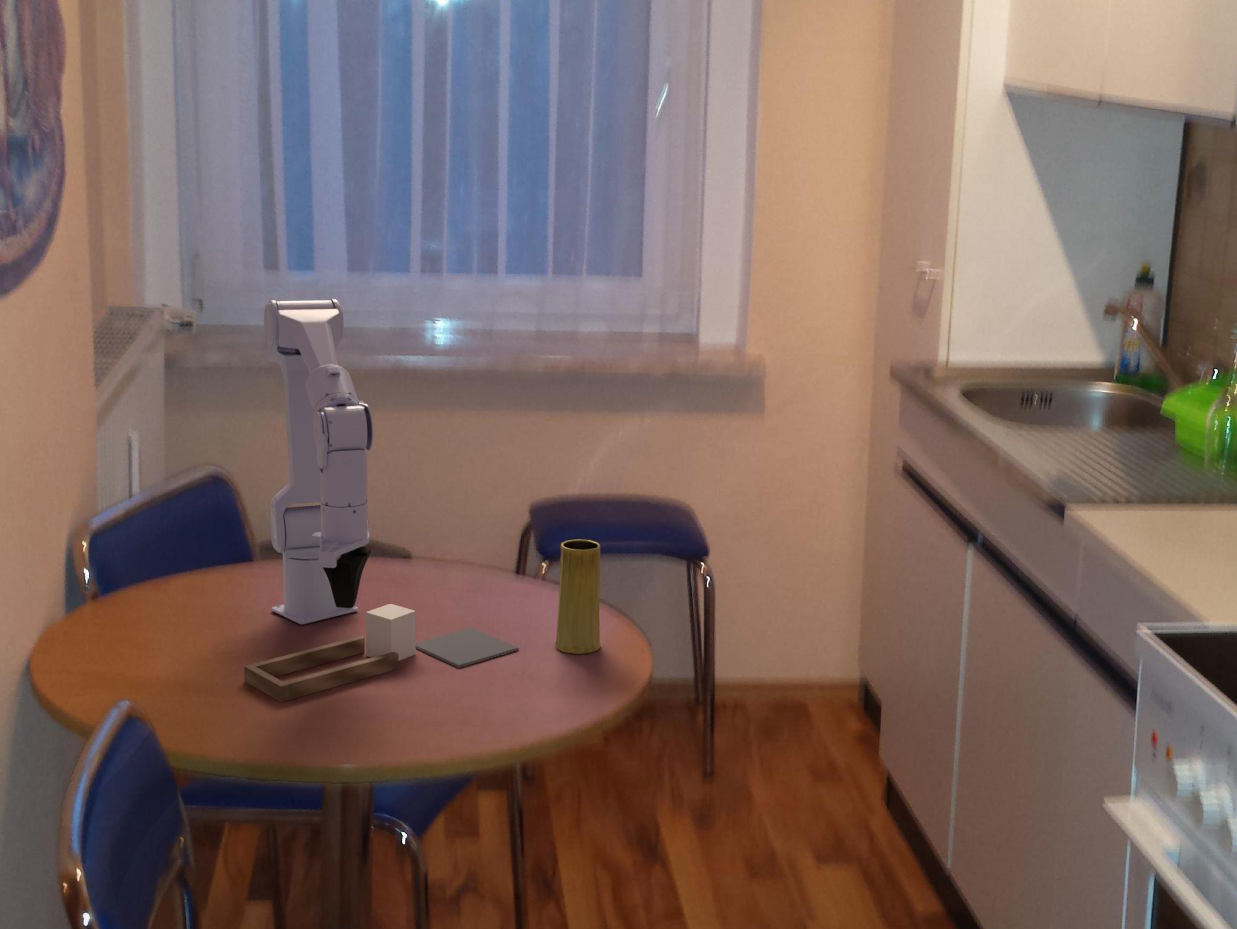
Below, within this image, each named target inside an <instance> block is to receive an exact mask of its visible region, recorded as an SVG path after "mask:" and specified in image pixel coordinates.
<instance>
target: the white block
mask: <svg viewBox="0 0 1237 929" xmlns="http://www.w3.org/2000/svg"><path fill="white" fill-rule="evenodd" d="M416 623H417V622H416V610H413V609H411V608H407V607H404V606H401V605H397V604H393V603H388V604H385V605H383V606H380V607H377V608H373V609H371V610H368V611H365V649H366V650H365V652H366V657H370V658H373V657H376V656H380V655H383V654H387V653H391V652H396V653H398V662H399V661H403V660H406V659H408V658H409V657H411V656H414V655H416V654H417V651H416V650H417V649H416V643H417V640H416V637H417V636H416V628H417V627H416V626H417V625H416Z"/></svg>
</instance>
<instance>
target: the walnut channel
mask: <svg viewBox="0 0 1237 929" xmlns="http://www.w3.org/2000/svg"><path fill="white" fill-rule="evenodd" d="M365 649H366V637H363V636H362V635H359V636H358V635H357V636H354V637H351V638H347V639H342V640H340V641H336V642H332V643H327V644H323V645H321V646H320V645H319V646H316V647H313V648H312V647H311V648H309V649H306V650H302V651H301V650H300V651H298V652H297V651H296V652H294V653H290V654H286V655H282V656H278V657H274V658H271V659H267V660H262V661H258V662H255V663H251V664H248V665H244V666H243V671H244V672H243V673H244V674H243V675H244V676H243V677H244V682H245V683H246V684H248V685H250V686H252V687H253V688H255V689H257V690H259V691H261V692H262V693H265V694H266V695H268V696H270V697H271V698H273V699H275V700H276V701H279V702H280V703H283V702H287V701H290V700H293V699H297V698H300V697H304V696H307V695H311V694H315V693H318V692H322V691H325V690H328V689H332V688H336V687H339V686H342V685H346V684H350V683H353V682H357V681H360V680H364V679H367V678H371V677H375V676H377V675H381V674H385V673H388V672H391V671H395V670H398V669H399V661H398V653H396V652H391V653H387V654H383V655H380V656H376V657H373V658H372V657H370V658H366V659H362V660H359V661H354V662H351V663H348V664H344V665H339V666H337V667H334V668H329V669H326V670H325V669H324V670H323V671H319V672H316V673H312V674H308V675H304V676H300V677H297V678H293V679H289V680H286V681H282V680H281V679H279V678H277V677H279V676H283V675H286V674H289V673H293V672H294V673H295V672H297V671H302V670H305V669H308V668H312V667H316V666H319V665H324V664H327V663H331V662H334V661H338V660H341V659H346V658H349V657H353V656H356V655H361V654H365V652H366V650H365Z"/></svg>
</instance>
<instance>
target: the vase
mask: <svg viewBox="0 0 1237 929" xmlns="http://www.w3.org/2000/svg"><path fill="white" fill-rule="evenodd" d="M600 577H601V544H600V543H599V542H597V541H594V540H590V539H582V538H581V539H570V540H565V541H563V542H561V543H560V561H559V589H558V591H559V592H558V606H557V607H558V608H557V621H556V622H557V623H556V624H557V625H556V640H555V642H554V646H555V648H556V649H557V650H558V649H559V651H560V650H561V651H560V652H562V653H565V652H566V654H570V653H572V655H588V654H593V653H595V652H596V651H599V649H600V648H601V645H602V644H601V639H600V635H601V630H600V629H601V627H600V590H601V587H600V585H601V583H600ZM587 653H588V654H587Z"/></svg>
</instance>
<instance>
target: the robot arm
mask: <svg viewBox="0 0 1237 929" xmlns="http://www.w3.org/2000/svg"><path fill="white" fill-rule="evenodd" d="M343 311H344V310H343V308H342V306H341V304H340V302H339V301H338V300H337V299H335V298H330V299H329V300H328V299H322V300H321V299H318V300H316V299H315V300H314V299H313V300H274V299H271V300H268V302H267V303H266V304H265V306H264V311H263V312H264V314H263V327H264V329H263V330H264V341H265V343H264V344H265V346H264V347H265V352H266V355H267V360H268V361H270V362H272V363H275V364H277V365H279V367H280V370H281V373H282V374H281V376H282V378H283V388H284V390H283V392H284V403H285V404H284V405H285V406H284V407H285V421H286V422H285V423H286V436H287V438H286V439H287V454H288V468H289V470H288V471H289V482H288V483H287V484H286V485H285V486H284V487H283V488H282V489H280V490H279V491H278V492H277V493H275V495H274V496H273V497H272V500H271V502H270V518H269V519H270V521H269V526H270V527H269V528H270V530H269V531H270V538H271V544H272V546H273V549H274V550H275V551H276V552H277V553H279V554H280V553H281V554H282V575H283V576H282V578H283V579H282V580H283V604H281V605H276V606H272V607H271V611H272V612H274V613H276V614H278V615H280V616H283V617H285V618H286V619H288V620H291V621H292V622H294V623H297V624H298V625H307V624H311V623H315V622H318V621H322V620H326V619H330V618H334V617H338V616H343V615H347V614H351V613H354V612H358V611H359V607H357V606H356V602H357V598H358V594H359V590H360V583H361V579H362V575H363V571H364V568H365V565H366V563H367V562H368V560H369V557H370V556H371V554H372V550H371V548H370V547H367V545H368V544H369V543H370V520H368V518H369V516H368V514H369V513H368V510H369V509H368V508H369V507H368V506H369V505H368V501H369V499H368V496H369V494H368V452H367V451H370V450H371V449H372V448H373V443H374V423H373V416H372V412H371V409H370V406H369V405H368V404H367V403H365V402H364V400H359V399H358V396H357V393H356V390H355V386H354V383H353V380H352V377H351V375H350V373H349V371H348V370H347V369H346V368H344V367H342V366H340V365H339V364H338V358H337V351H338V349H339V346H340V344H341V342H342V340H343V337H344V332H345V331H344V330H345V328H344V327H345V324H344V321H345V320H344V312H343ZM365 450H367V451H365ZM310 503H311V504H312V503H320V504H319V505H318V504H317V505H305V506H304V505H303V506H292V505H296V504H297V505H301V504H310ZM289 506H291V507H289Z"/></svg>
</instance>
